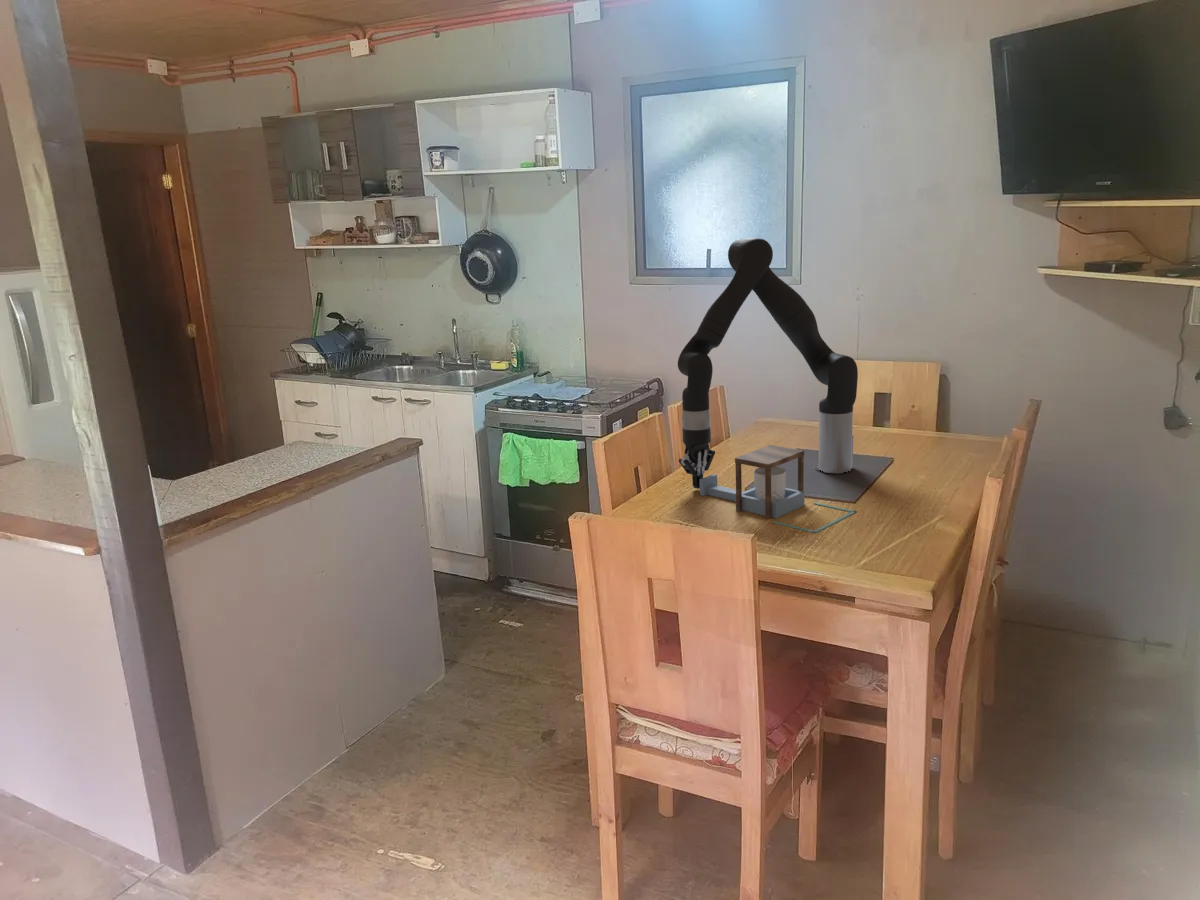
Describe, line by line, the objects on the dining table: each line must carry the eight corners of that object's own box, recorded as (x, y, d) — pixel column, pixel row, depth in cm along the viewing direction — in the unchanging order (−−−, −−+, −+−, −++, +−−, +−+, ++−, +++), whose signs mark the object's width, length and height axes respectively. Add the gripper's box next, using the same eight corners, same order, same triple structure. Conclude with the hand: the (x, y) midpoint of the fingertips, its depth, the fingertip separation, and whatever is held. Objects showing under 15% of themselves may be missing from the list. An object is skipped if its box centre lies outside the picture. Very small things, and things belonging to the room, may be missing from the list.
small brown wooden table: (771, 497, 227) (770, 444, 224) (803, 504, 220) (804, 450, 217) (735, 512, 217) (734, 458, 214) (768, 520, 210) (768, 464, 207)
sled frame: (721, 486, 237) (720, 471, 236) (804, 505, 219) (804, 488, 217) (692, 498, 229) (691, 482, 228) (776, 518, 210) (776, 501, 209)
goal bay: (815, 504, 220) (815, 502, 220) (856, 513, 212) (856, 511, 212) (773, 524, 208) (773, 522, 207) (815, 534, 200) (815, 532, 199)
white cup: (787, 504, 221) (787, 466, 219) (783, 514, 214) (783, 475, 211) (756, 502, 224) (756, 465, 221) (751, 512, 217) (751, 474, 214)
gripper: (691, 432, 224) (692, 496, 228) (723, 422, 232) (724, 484, 237) (669, 428, 229) (671, 491, 233) (701, 419, 238) (702, 479, 242)
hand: (698, 487), depth 235 cm, fingers closed
